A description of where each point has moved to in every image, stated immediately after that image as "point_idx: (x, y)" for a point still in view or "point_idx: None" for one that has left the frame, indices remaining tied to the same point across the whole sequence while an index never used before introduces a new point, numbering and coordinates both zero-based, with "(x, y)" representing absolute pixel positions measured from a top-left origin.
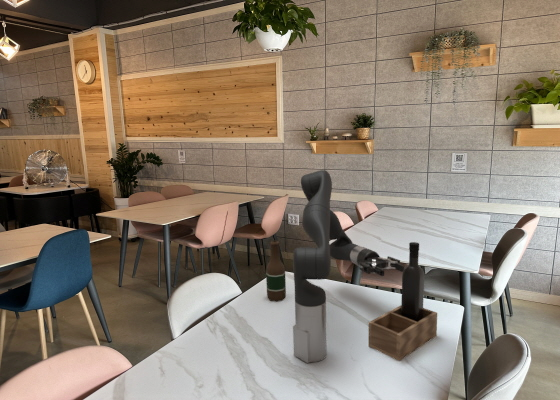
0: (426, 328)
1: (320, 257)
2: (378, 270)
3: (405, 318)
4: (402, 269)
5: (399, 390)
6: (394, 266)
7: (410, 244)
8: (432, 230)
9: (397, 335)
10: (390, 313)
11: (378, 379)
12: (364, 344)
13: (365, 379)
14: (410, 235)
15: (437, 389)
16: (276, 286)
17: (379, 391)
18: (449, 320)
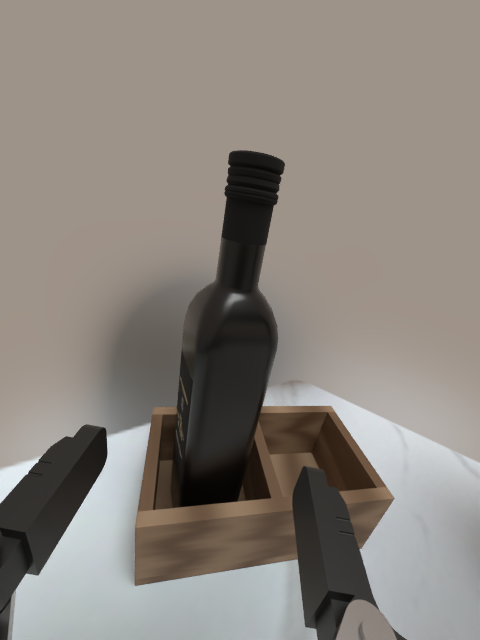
0: None
1: None
2: (346, 512)
3: (262, 441)
4: (104, 446)
5: (351, 410)
6: (7, 591)
7: (284, 165)
8: None
9: (333, 411)
10: (282, 498)
11: (376, 441)
12: (371, 568)
13: (402, 453)
14: None
15: (298, 385)
16: None
17: (384, 424)
18: (7, 489)
